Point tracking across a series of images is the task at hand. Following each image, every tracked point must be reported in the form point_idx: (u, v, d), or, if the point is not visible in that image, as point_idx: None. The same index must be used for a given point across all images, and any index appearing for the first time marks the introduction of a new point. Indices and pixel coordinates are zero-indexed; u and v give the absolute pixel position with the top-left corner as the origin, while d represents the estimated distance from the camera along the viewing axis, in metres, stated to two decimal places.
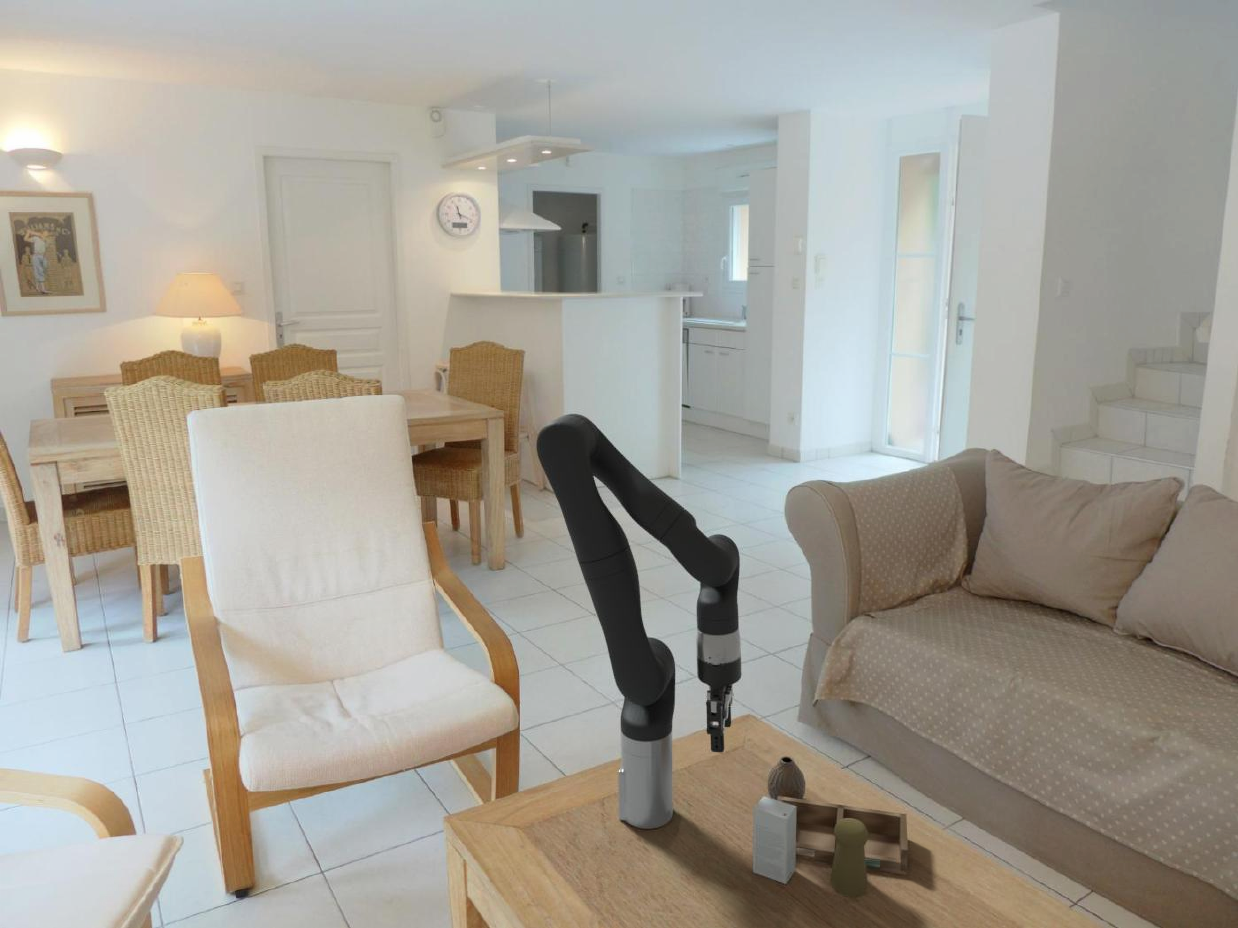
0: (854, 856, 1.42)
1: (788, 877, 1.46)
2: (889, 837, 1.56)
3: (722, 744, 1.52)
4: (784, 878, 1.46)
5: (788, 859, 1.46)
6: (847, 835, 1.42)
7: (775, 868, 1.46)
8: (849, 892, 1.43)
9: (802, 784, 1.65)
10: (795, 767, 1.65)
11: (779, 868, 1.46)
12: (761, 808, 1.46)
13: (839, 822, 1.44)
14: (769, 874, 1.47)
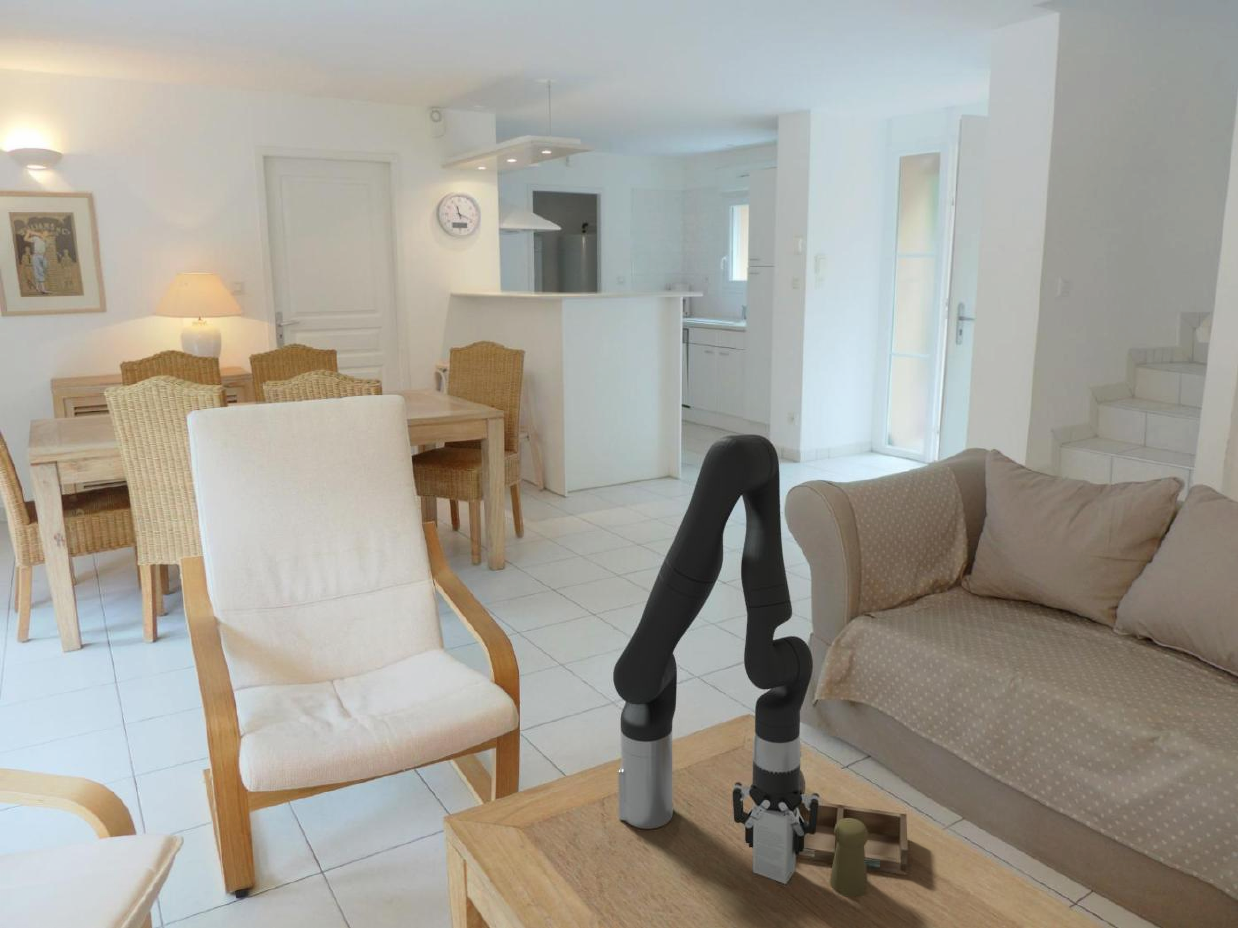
0: (854, 856, 1.42)
1: (788, 877, 1.46)
2: (889, 837, 1.56)
3: None
4: (784, 878, 1.46)
5: (788, 860, 1.46)
6: (847, 834, 1.42)
7: (775, 868, 1.46)
8: (849, 892, 1.43)
9: (802, 785, 1.65)
10: None
11: (779, 868, 1.46)
12: None
13: (839, 822, 1.44)
14: (769, 874, 1.47)
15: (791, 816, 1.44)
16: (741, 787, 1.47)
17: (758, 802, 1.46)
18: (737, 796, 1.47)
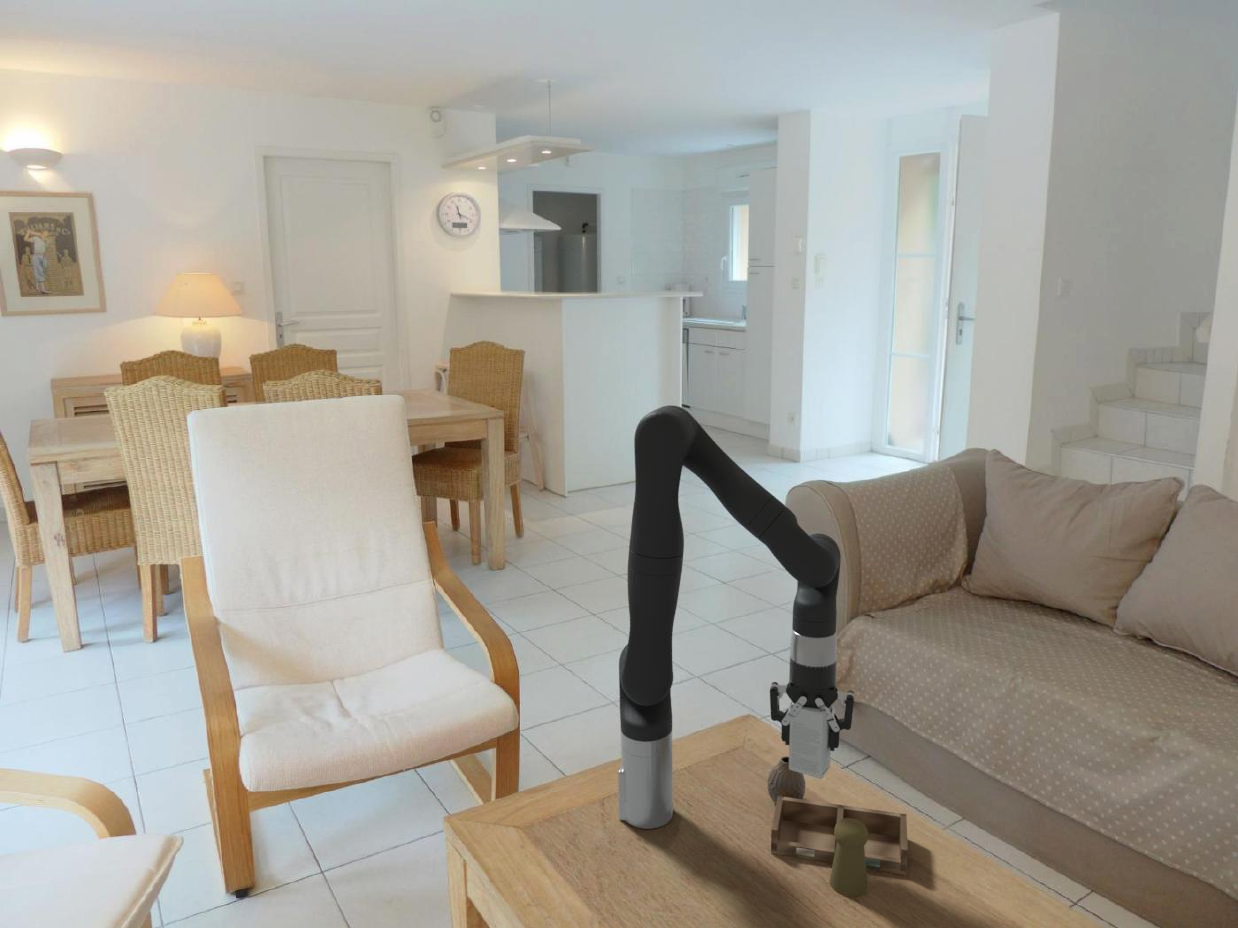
0: (854, 856, 1.42)
1: (823, 773, 1.51)
2: (889, 837, 1.56)
3: None
4: (820, 773, 1.50)
5: (824, 755, 1.50)
6: (847, 834, 1.42)
7: (811, 763, 1.51)
8: (849, 892, 1.43)
9: (802, 785, 1.65)
10: None
11: (815, 763, 1.50)
12: None
13: (839, 822, 1.44)
14: (805, 770, 1.51)
15: (827, 712, 1.49)
16: (778, 686, 1.52)
17: (795, 699, 1.50)
18: (774, 694, 1.51)
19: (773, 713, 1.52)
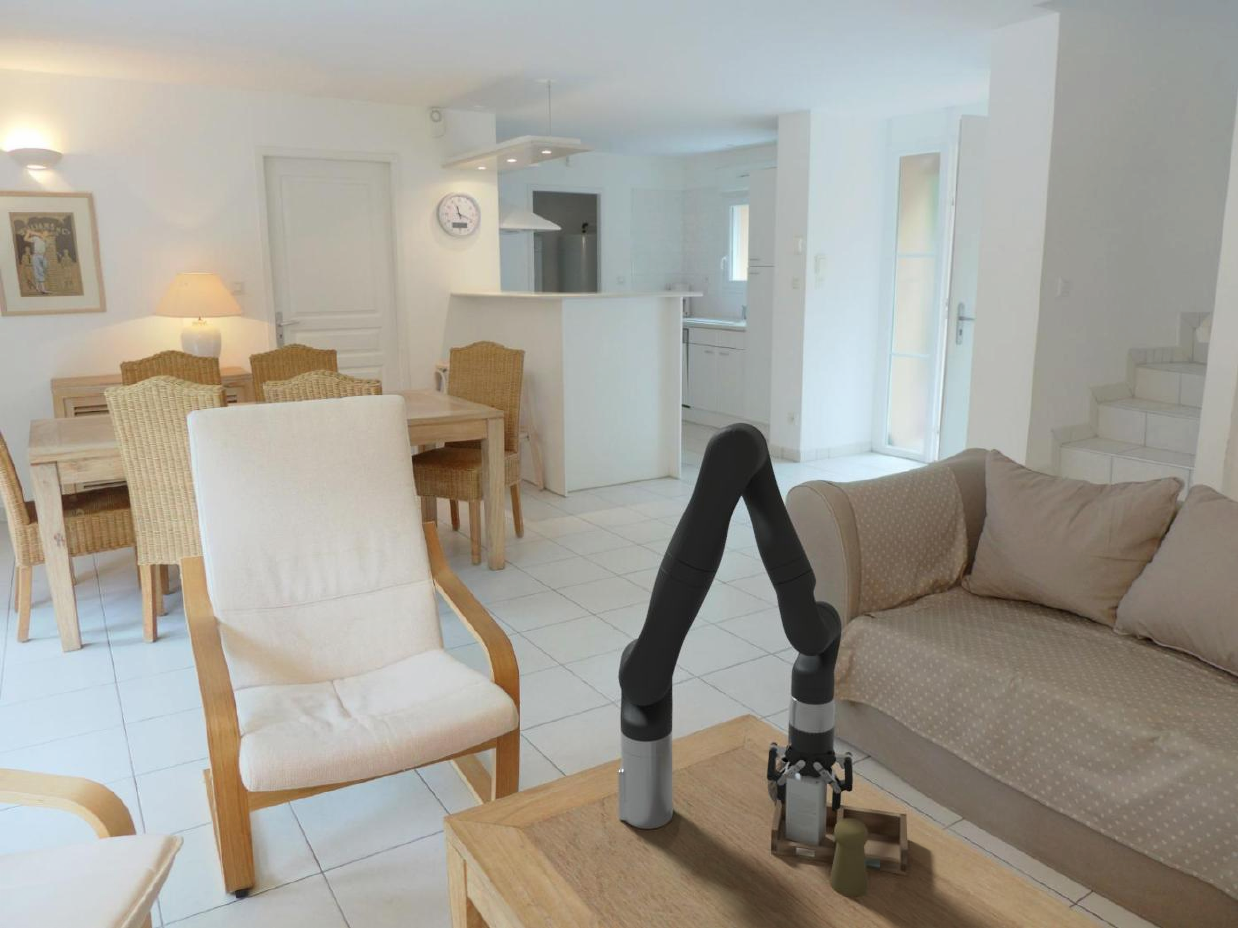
0: (854, 856, 1.42)
1: (820, 842, 1.54)
2: (889, 837, 1.56)
3: None
4: (816, 843, 1.53)
5: (820, 825, 1.53)
6: (847, 834, 1.42)
7: (807, 833, 1.54)
8: (849, 892, 1.43)
9: None
10: None
11: (811, 833, 1.53)
12: (794, 777, 1.53)
13: (839, 822, 1.44)
14: (801, 840, 1.55)
15: (827, 775, 1.51)
16: (777, 747, 1.54)
17: (793, 762, 1.53)
18: (773, 755, 1.53)
19: (769, 773, 1.54)
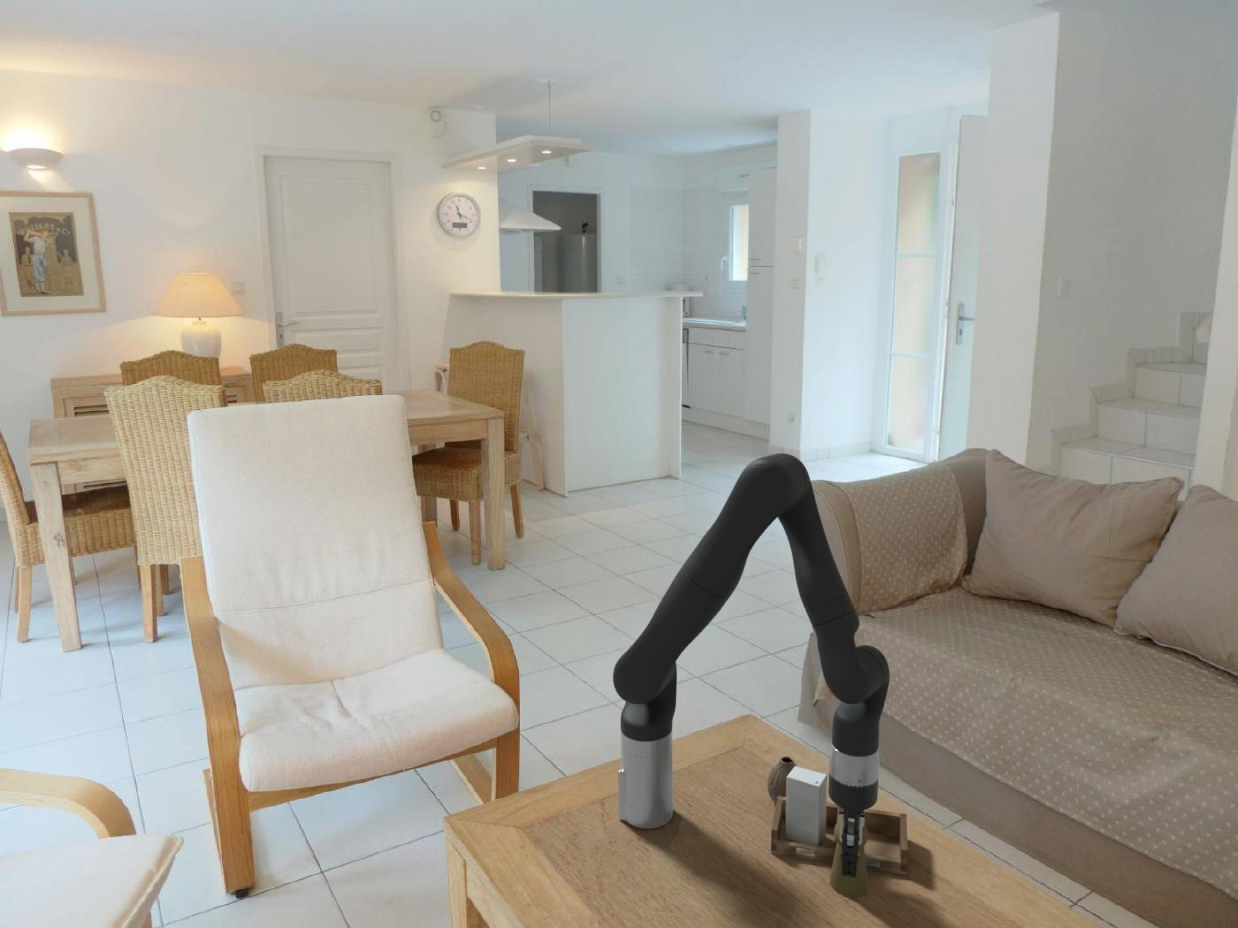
0: None
1: (820, 842, 1.54)
2: (889, 837, 1.56)
3: None
4: (816, 843, 1.53)
5: (820, 825, 1.53)
6: None
7: (807, 833, 1.54)
8: (849, 892, 1.43)
9: None
10: None
11: (811, 833, 1.53)
12: (794, 777, 1.53)
13: None
14: (801, 840, 1.55)
15: None
16: (851, 831, 1.38)
17: None
18: None
19: None
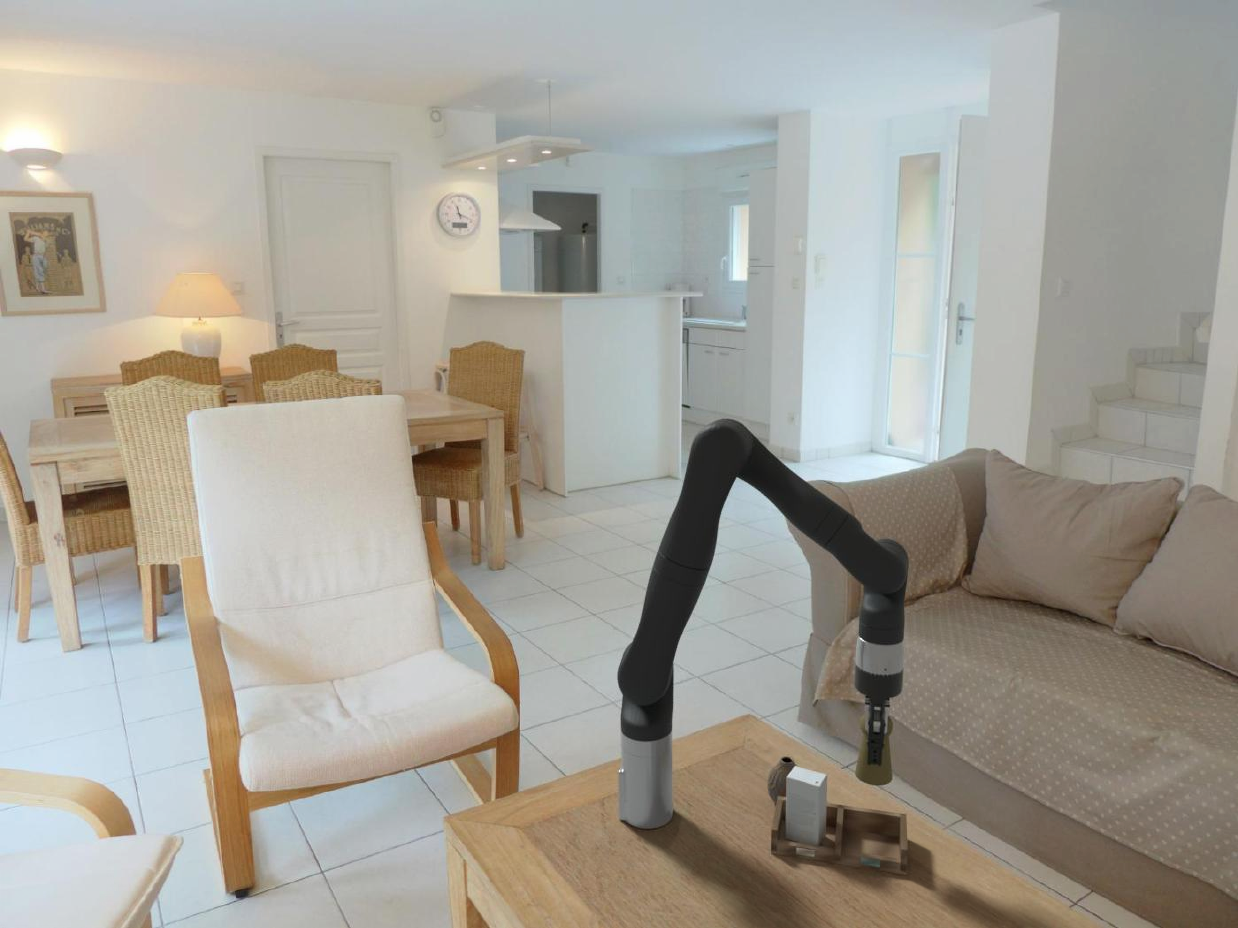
0: None
1: (820, 842, 1.54)
2: (889, 837, 1.56)
3: None
4: (816, 843, 1.53)
5: (820, 825, 1.53)
6: None
7: (807, 833, 1.54)
8: (875, 781, 1.48)
9: None
10: None
11: (811, 833, 1.53)
12: (794, 777, 1.53)
13: (865, 714, 1.49)
14: (801, 840, 1.55)
15: None
16: (877, 718, 1.42)
17: (883, 716, 1.45)
18: None
19: None
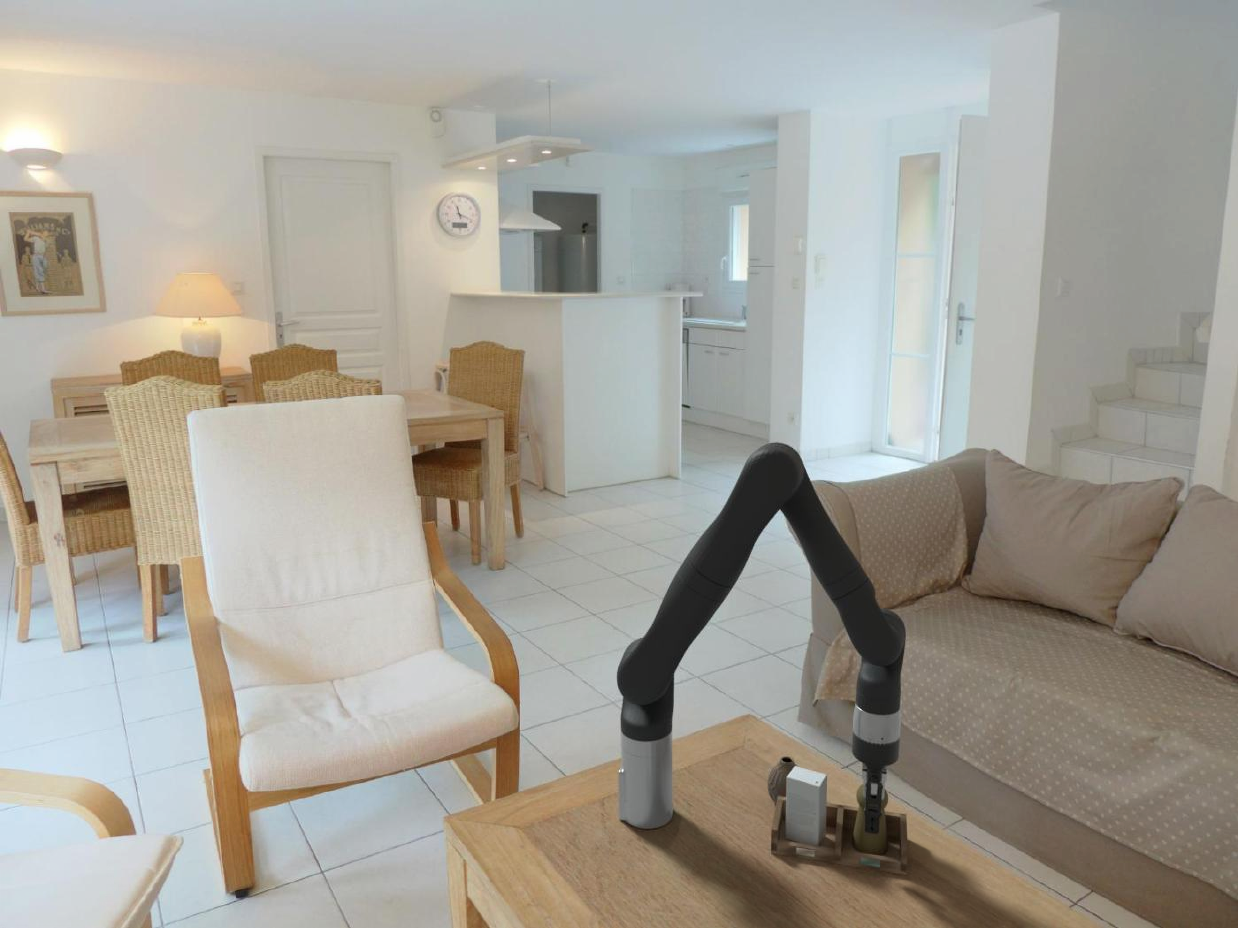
0: None
1: (820, 842, 1.54)
2: (889, 837, 1.56)
3: None
4: (816, 843, 1.53)
5: (820, 825, 1.53)
6: None
7: (807, 833, 1.54)
8: (871, 852, 1.51)
9: None
10: None
11: (811, 833, 1.53)
12: (794, 777, 1.53)
13: (861, 786, 1.53)
14: (801, 840, 1.55)
15: None
16: (874, 781, 1.45)
17: None
18: (882, 789, 1.44)
19: (880, 810, 1.45)
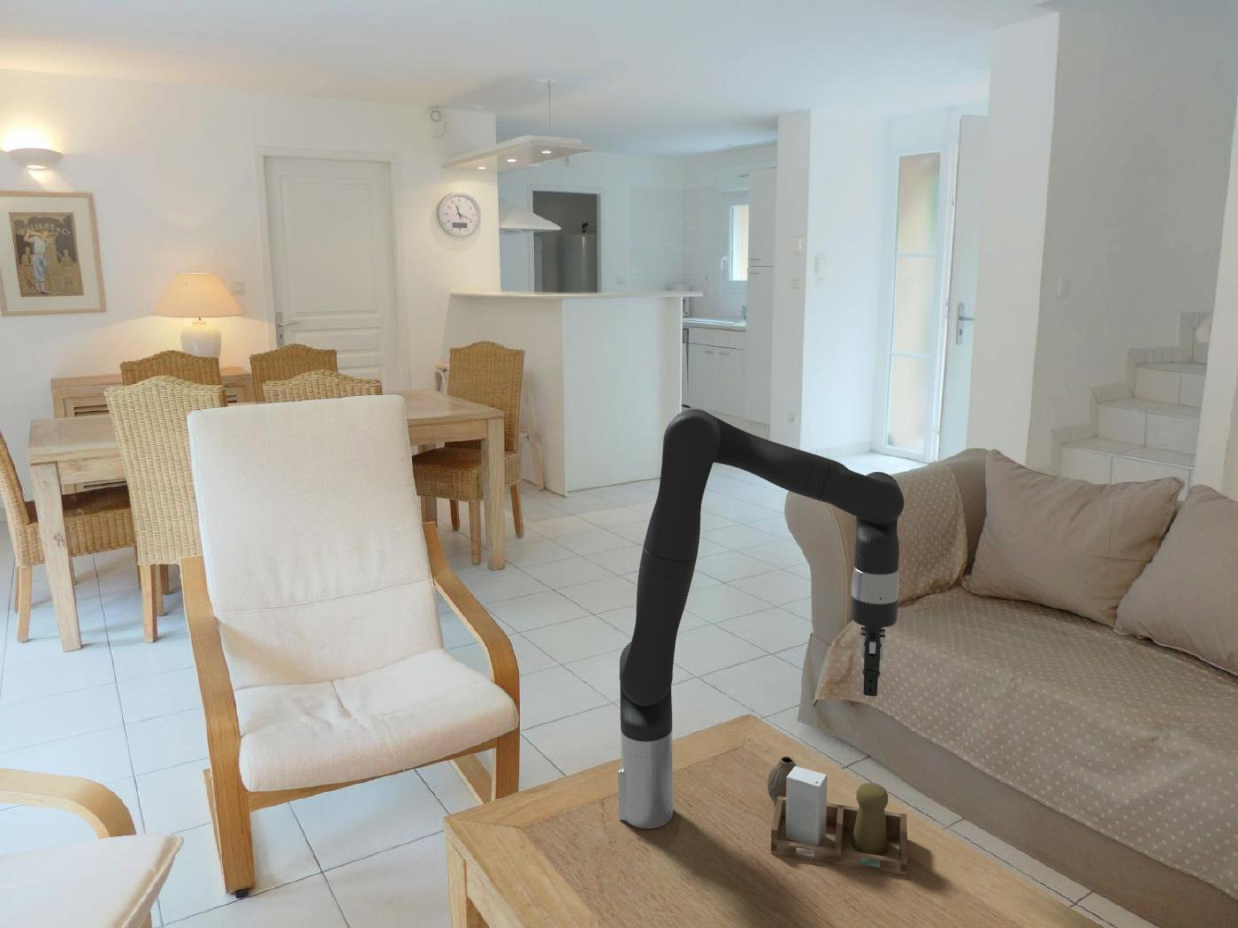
0: (876, 818, 1.51)
1: (820, 842, 1.54)
2: (889, 837, 1.56)
3: None
4: (816, 843, 1.53)
5: (820, 825, 1.53)
6: (869, 798, 1.50)
7: (807, 833, 1.54)
8: (871, 852, 1.51)
9: None
10: None
11: (811, 833, 1.53)
12: (794, 777, 1.53)
13: (861, 786, 1.53)
14: (801, 840, 1.55)
15: None
16: (872, 640, 1.46)
17: None
18: (880, 647, 1.45)
19: None
